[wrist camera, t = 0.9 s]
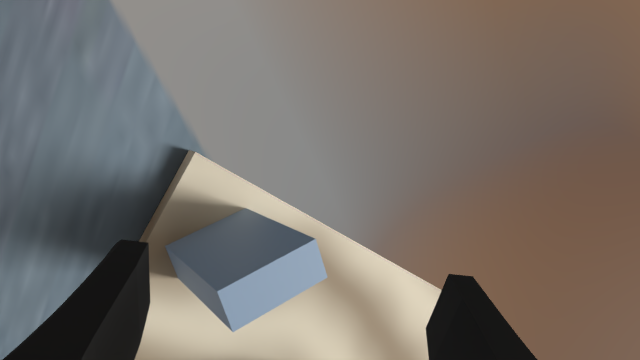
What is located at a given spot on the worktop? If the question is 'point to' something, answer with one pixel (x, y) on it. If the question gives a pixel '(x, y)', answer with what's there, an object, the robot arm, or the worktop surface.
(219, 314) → the tile blue
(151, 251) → the board
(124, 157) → the worktop surface
